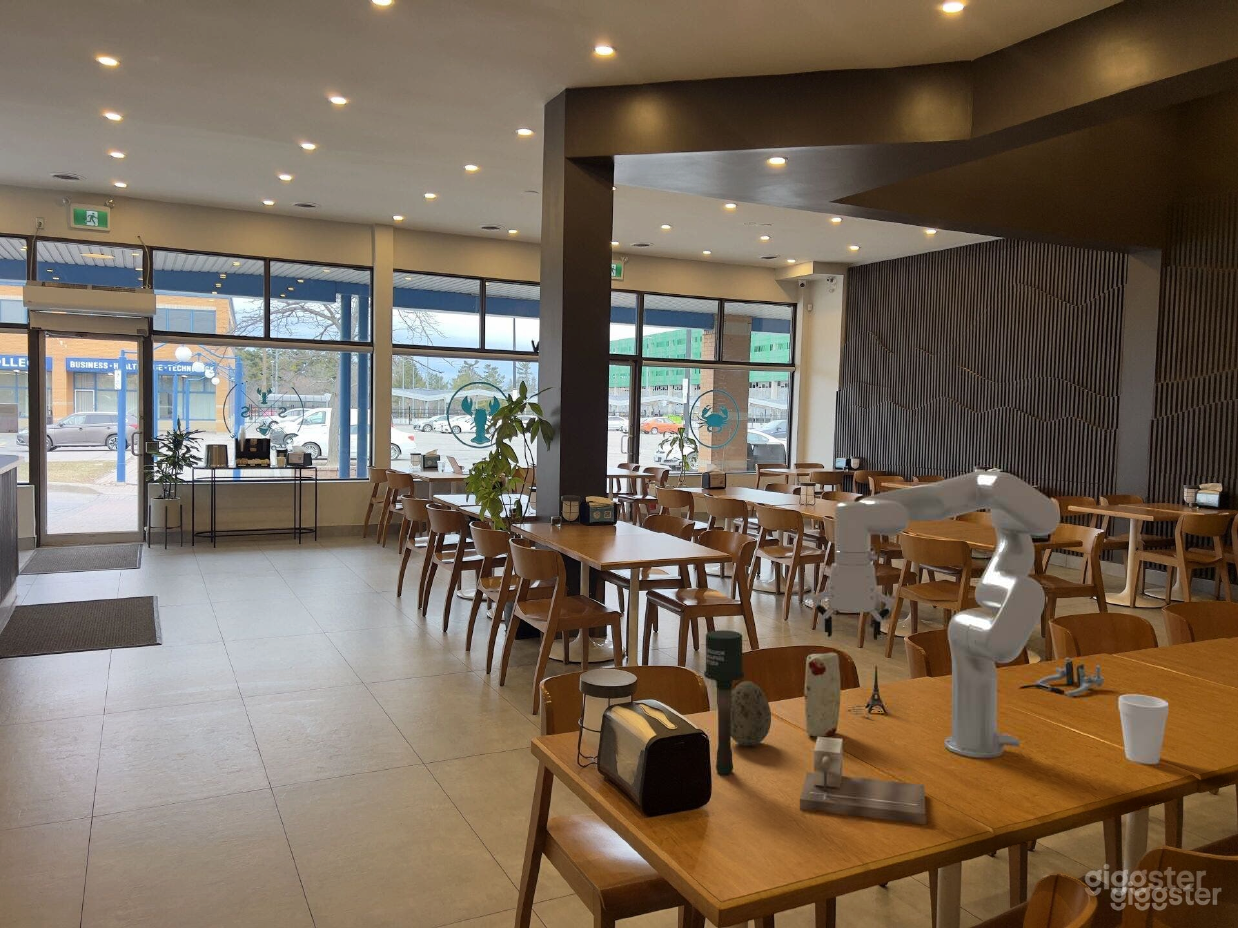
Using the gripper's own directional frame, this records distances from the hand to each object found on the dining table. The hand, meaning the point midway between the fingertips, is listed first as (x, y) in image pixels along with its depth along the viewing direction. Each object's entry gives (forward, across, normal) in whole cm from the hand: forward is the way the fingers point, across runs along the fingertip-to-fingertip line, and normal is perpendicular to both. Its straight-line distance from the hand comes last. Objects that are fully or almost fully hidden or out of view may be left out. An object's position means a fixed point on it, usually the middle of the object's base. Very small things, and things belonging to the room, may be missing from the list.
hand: (852, 636), depth 191 cm
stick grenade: (+28, +26, +12) cm, 40 cm away
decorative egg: (+28, +24, -6) cm, 38 cm away
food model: (+28, +8, -18) cm, 35 cm away
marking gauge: (+28, +4, +17) cm, 33 cm away
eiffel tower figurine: (+29, -4, -41) cm, 50 cm away
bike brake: (+29, -54, -74) cm, 96 cm away
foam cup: (+28, -61, -22) cm, 71 cm away
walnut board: (+28, -3, +19) cm, 34 cm away
